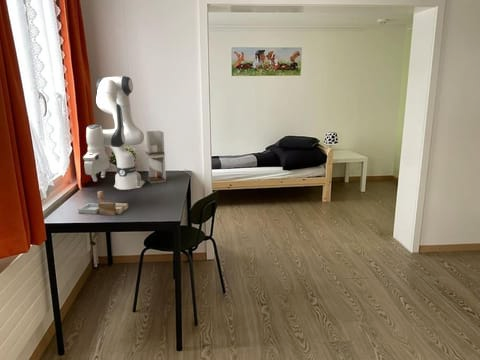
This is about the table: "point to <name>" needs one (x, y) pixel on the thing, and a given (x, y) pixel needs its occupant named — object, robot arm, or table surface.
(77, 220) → the table surface
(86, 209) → the tray
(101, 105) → the robot arm
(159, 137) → the display case
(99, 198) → the dowel
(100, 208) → the wooden block
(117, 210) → the board
